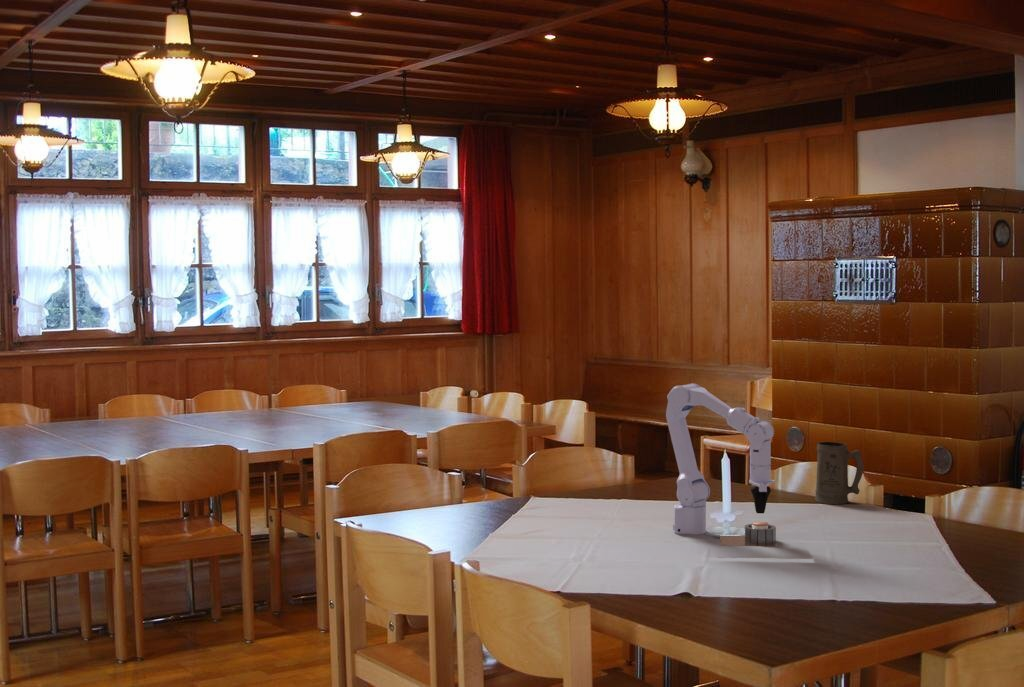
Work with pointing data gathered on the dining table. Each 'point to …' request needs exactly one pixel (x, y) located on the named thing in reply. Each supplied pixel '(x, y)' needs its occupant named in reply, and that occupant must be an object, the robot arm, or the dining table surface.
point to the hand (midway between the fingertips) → (760, 512)
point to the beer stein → (835, 473)
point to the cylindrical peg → (760, 525)
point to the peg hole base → (752, 537)
